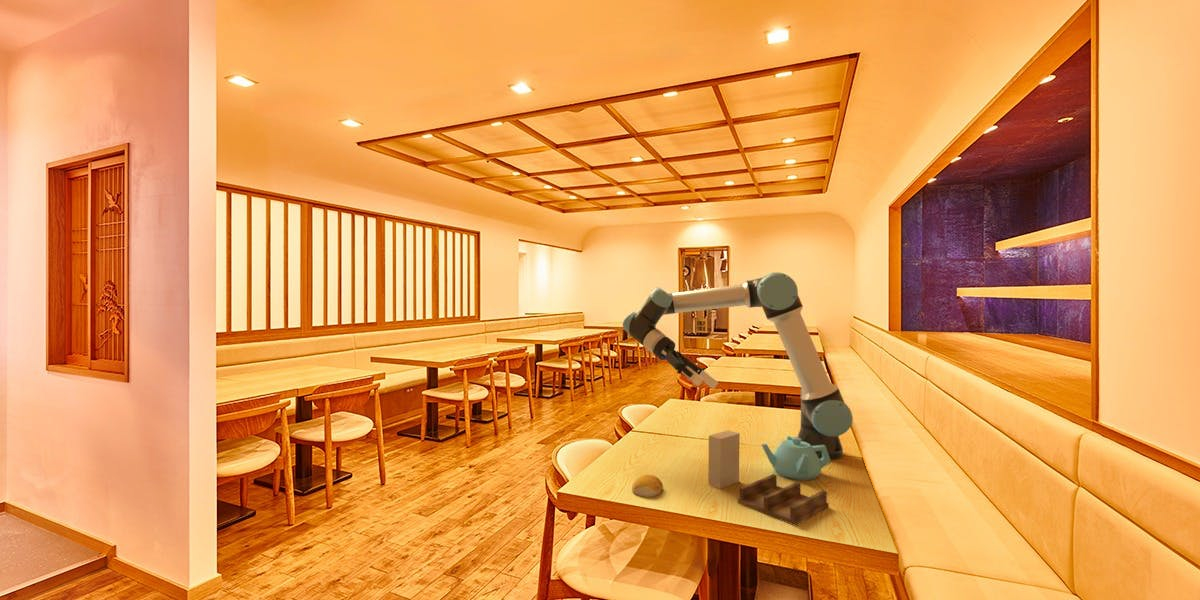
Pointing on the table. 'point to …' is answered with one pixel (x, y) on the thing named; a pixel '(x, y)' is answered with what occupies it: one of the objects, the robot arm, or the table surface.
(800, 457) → the teapot
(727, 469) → the cardboard box
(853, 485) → the table surface
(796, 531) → the table surface
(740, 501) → the walnut rack
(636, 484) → the bread roll
